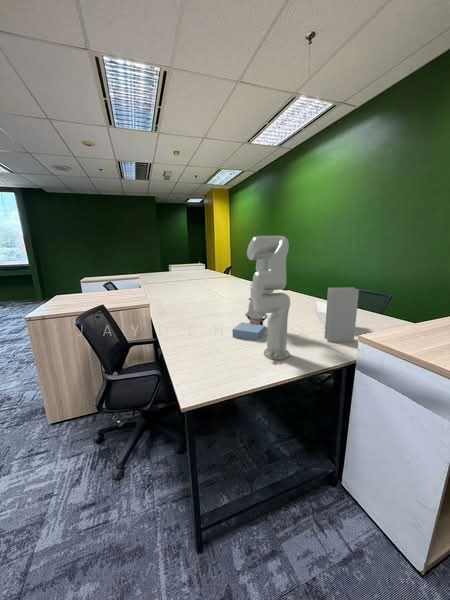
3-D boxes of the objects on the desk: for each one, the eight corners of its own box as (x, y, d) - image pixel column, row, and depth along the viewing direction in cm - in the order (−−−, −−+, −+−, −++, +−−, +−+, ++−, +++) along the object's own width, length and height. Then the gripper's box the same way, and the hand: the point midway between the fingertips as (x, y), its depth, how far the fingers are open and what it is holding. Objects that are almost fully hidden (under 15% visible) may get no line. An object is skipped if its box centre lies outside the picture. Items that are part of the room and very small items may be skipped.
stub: (258, 330, 156) (258, 321, 154) (249, 329, 158) (249, 320, 157) (262, 326, 164) (262, 317, 162) (254, 325, 166) (254, 316, 165)
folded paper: (341, 306, 144) (356, 304, 154) (308, 299, 164) (323, 298, 173) (337, 333, 147) (353, 330, 157) (305, 323, 167) (321, 321, 176)
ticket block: (257, 341, 139) (258, 332, 138) (232, 337, 146) (232, 328, 145) (265, 332, 152) (265, 324, 151) (241, 329, 159) (241, 321, 158)
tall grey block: (349, 338, 140) (354, 287, 133) (353, 342, 134) (359, 289, 128) (324, 338, 141) (328, 287, 135) (327, 341, 136) (331, 289, 129)
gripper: (242, 300, 157) (242, 326, 161) (267, 302, 150) (267, 330, 154) (246, 298, 164) (246, 323, 168) (271, 300, 156) (270, 326, 160)
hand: (256, 326), depth 161 cm, fingers closed on stub, 6 cm apart
